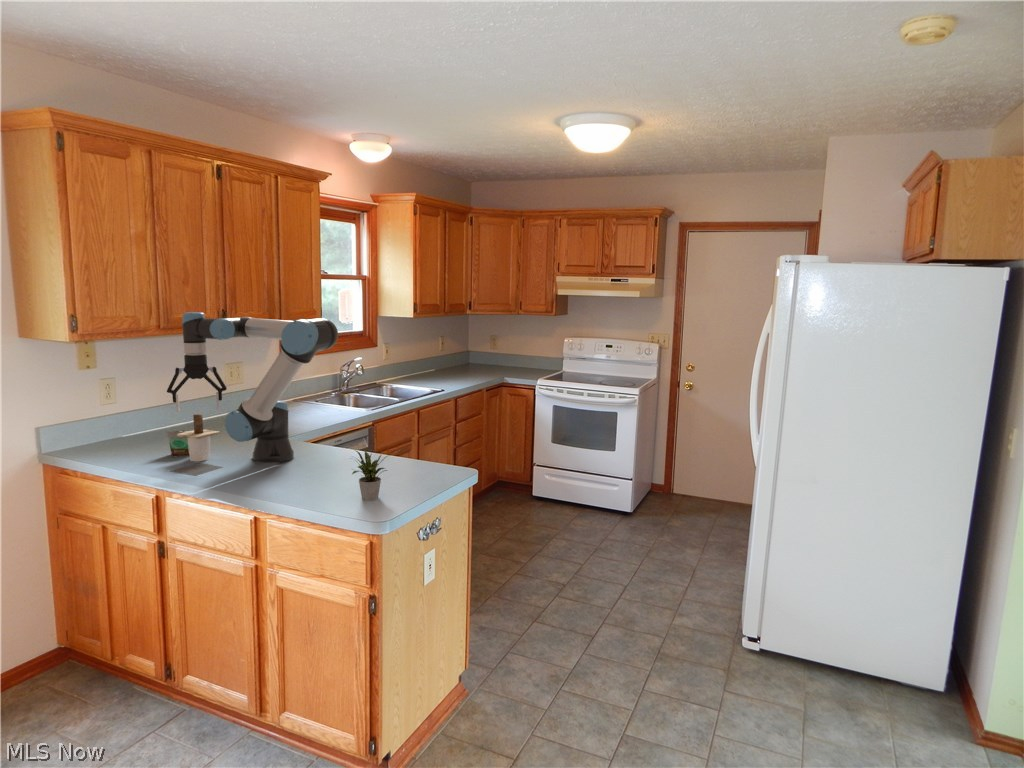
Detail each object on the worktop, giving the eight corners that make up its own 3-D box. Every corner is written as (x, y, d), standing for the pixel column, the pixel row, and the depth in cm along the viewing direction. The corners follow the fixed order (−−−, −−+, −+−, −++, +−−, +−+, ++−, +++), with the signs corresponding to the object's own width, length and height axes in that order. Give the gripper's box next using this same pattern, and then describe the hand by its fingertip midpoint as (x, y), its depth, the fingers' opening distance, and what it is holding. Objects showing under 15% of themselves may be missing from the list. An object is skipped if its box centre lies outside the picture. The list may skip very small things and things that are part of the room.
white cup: (185, 460, 251) (184, 434, 250) (206, 456, 257) (205, 431, 255) (192, 464, 246) (191, 438, 244) (214, 460, 251) (213, 435, 250)
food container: (163, 458, 253) (162, 433, 251) (167, 454, 259) (166, 429, 257) (198, 457, 256) (197, 431, 254) (201, 453, 262) (200, 428, 260)
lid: (220, 433, 253) (219, 413, 251) (197, 439, 243) (196, 418, 242) (199, 430, 257) (198, 411, 255) (177, 436, 247) (176, 415, 246)
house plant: (334, 498, 211) (333, 449, 209) (364, 488, 223) (364, 441, 221) (367, 507, 204) (367, 456, 202) (396, 496, 216) (397, 447, 213)
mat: (223, 468, 241) (223, 467, 241) (195, 477, 230) (195, 475, 230) (198, 464, 246) (198, 462, 246) (169, 472, 235) (169, 471, 234)
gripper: (231, 352, 253) (234, 406, 256) (158, 353, 244) (162, 410, 247) (231, 354, 246) (234, 409, 250) (156, 355, 237) (160, 413, 240)
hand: (198, 410), depth 248 cm, fingers open, 13 cm apart
